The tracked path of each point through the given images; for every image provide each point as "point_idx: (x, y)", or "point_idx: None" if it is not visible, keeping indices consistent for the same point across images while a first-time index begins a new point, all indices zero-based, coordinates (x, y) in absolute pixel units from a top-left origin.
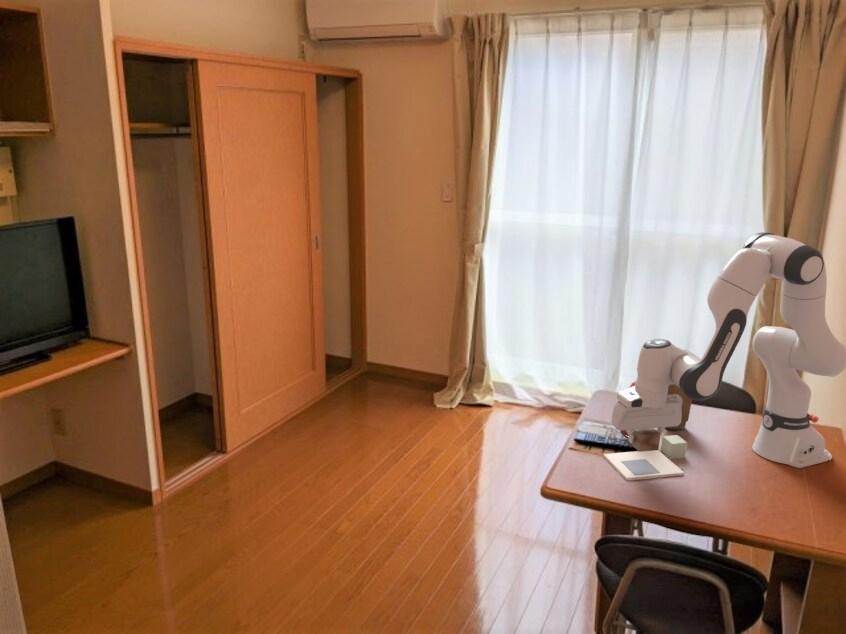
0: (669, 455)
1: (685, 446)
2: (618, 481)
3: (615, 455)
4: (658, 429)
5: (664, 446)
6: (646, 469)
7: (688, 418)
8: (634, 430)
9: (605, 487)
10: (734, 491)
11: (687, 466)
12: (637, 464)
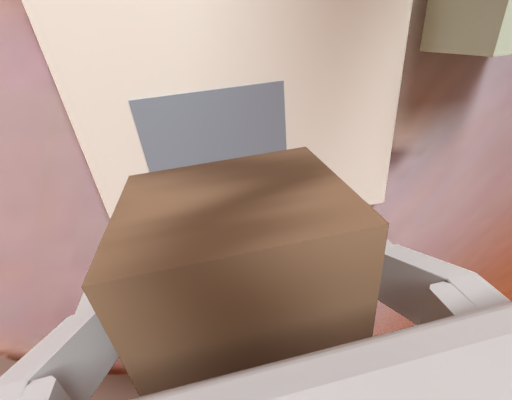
0: (430, 44)
1: None
2: (86, 250)
3: (108, 14)
4: (420, 286)
5: None
6: None
7: None
8: (124, 357)
9: (18, 292)
10: None
11: (439, 131)
12: (214, 139)
